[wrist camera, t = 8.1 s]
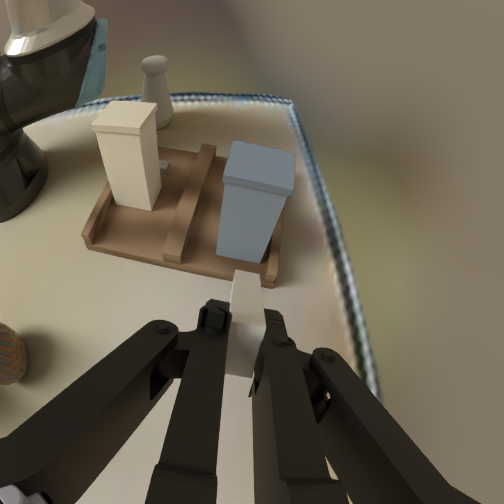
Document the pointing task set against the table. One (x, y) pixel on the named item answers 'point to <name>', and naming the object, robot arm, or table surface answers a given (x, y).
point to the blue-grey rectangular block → (253, 199)
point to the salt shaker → (157, 88)
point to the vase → (11, 356)
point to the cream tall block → (130, 152)
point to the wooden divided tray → (178, 221)
